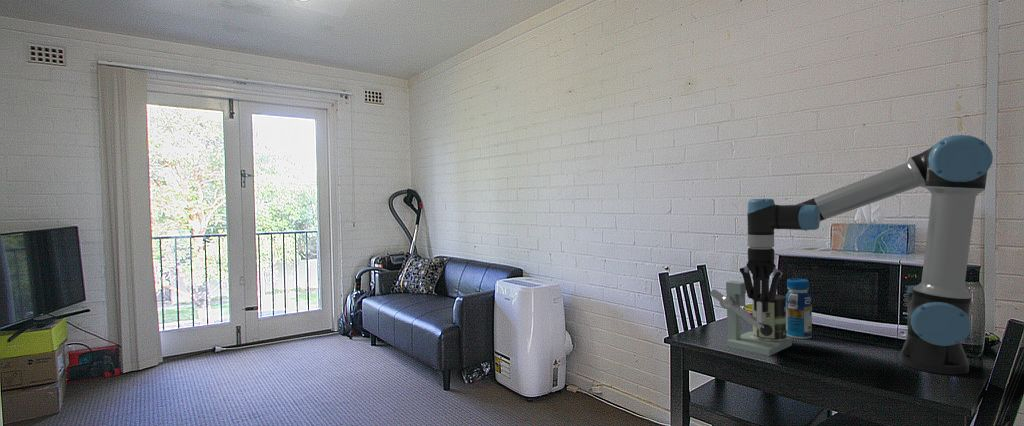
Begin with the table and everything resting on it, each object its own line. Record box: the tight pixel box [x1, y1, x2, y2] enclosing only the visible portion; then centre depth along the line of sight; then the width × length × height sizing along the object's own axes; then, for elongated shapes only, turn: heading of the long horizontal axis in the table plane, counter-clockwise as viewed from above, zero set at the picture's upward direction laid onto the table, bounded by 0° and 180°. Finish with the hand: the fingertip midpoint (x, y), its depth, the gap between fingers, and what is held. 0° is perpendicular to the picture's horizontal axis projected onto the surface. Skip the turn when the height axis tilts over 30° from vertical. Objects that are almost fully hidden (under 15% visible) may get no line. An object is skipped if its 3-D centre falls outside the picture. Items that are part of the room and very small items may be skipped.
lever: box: [709, 289, 773, 336], centre depth 162 cm, size 22×4×4 cm, turn 38°
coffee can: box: [751, 293, 787, 342], centre depth 167 cm, size 10×10×14 cm
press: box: [725, 280, 793, 357], centre depth 166 cm, size 15×18×21 cm
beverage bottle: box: [784, 277, 813, 340], centre depth 175 cm, size 8×8×20 cm
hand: (761, 321), depth 157 cm, fingers closed
